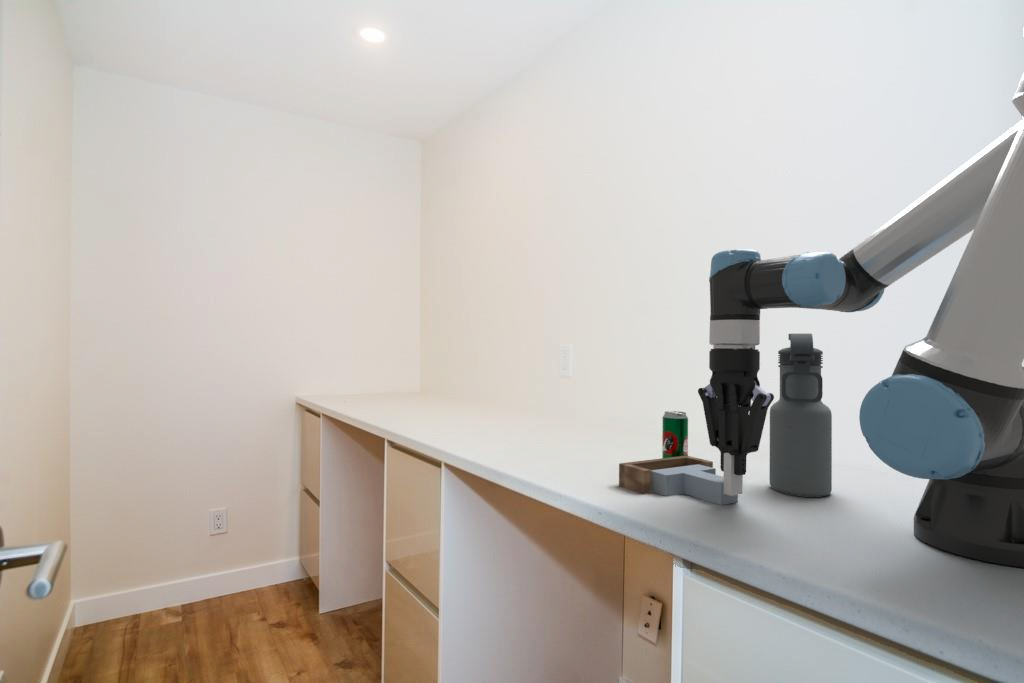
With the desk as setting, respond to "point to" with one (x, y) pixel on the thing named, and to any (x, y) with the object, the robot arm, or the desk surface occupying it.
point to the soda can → (675, 434)
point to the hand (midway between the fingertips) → (732, 493)
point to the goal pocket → (639, 471)
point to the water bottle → (801, 424)
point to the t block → (691, 483)
